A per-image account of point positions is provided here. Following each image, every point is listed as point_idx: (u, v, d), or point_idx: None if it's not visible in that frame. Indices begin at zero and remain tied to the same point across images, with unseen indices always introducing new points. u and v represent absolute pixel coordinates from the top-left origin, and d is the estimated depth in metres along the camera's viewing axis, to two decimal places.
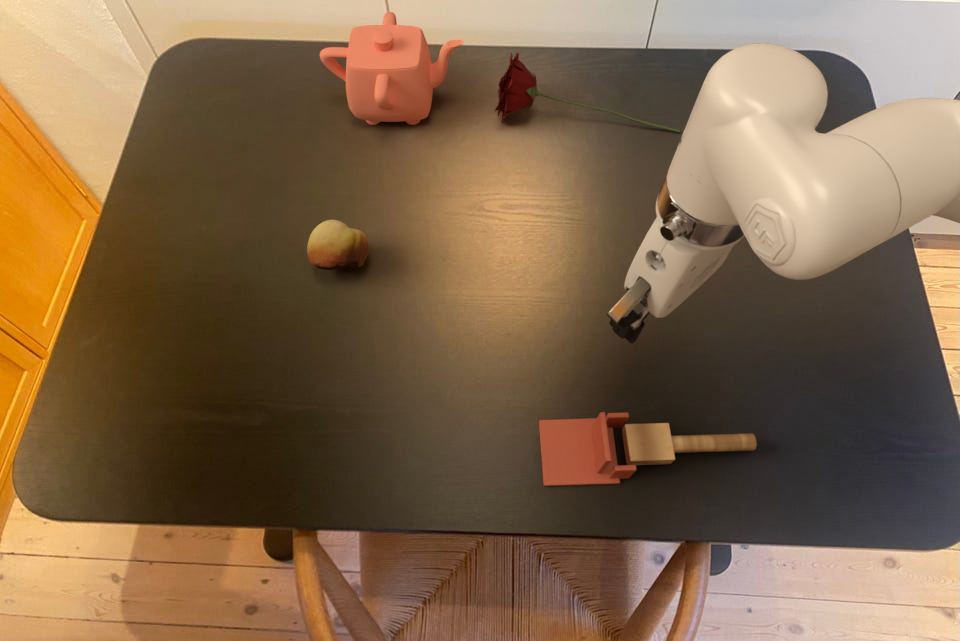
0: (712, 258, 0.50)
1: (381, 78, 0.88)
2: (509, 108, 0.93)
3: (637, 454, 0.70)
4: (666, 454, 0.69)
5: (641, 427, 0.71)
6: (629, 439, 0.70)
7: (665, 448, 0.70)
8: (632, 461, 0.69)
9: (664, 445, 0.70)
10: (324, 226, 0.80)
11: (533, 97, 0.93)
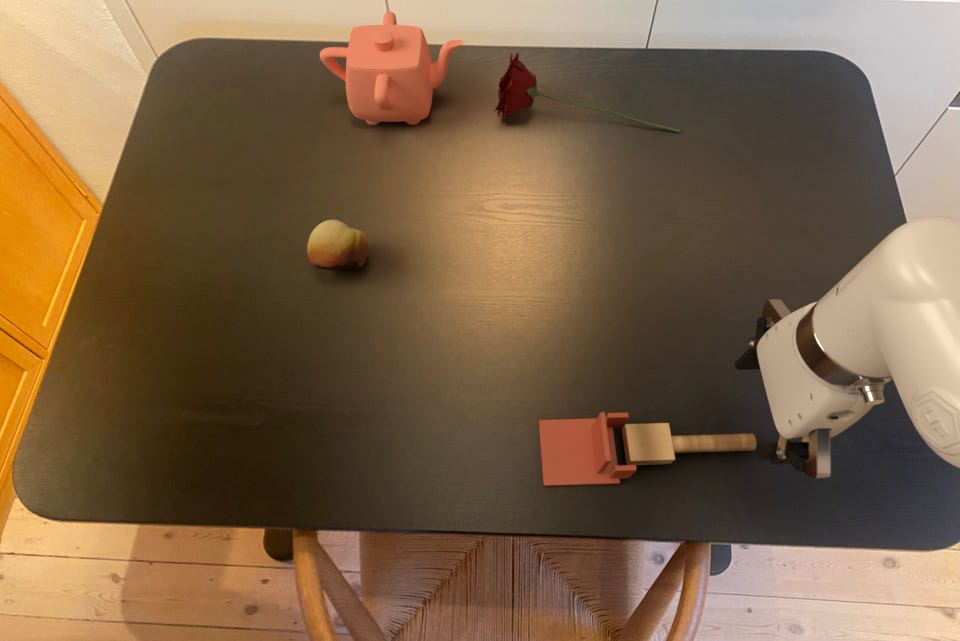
0: None
1: (381, 78, 0.88)
2: (509, 108, 0.93)
3: (637, 454, 0.70)
4: (666, 454, 0.69)
5: (641, 427, 0.71)
6: (629, 439, 0.70)
7: (665, 448, 0.70)
8: (632, 461, 0.69)
9: (664, 445, 0.70)
10: (324, 226, 0.80)
11: (533, 97, 0.93)
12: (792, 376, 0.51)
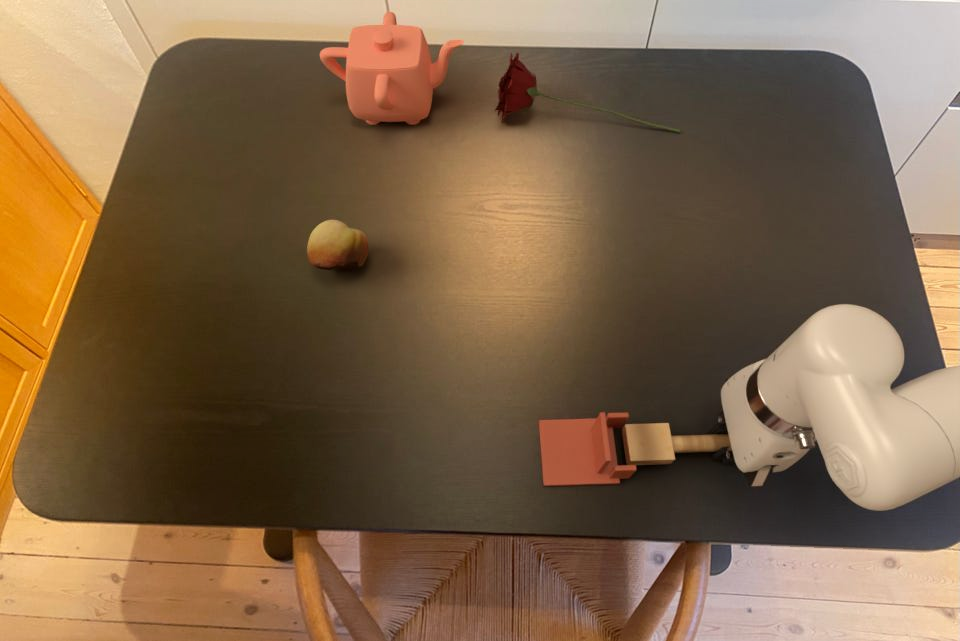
0: None
1: (381, 78, 0.88)
2: (509, 108, 0.93)
3: (637, 454, 0.70)
4: (666, 454, 0.69)
5: (641, 427, 0.71)
6: (629, 439, 0.70)
7: (665, 448, 0.70)
8: (632, 461, 0.69)
9: (664, 445, 0.70)
10: (324, 226, 0.80)
11: (533, 97, 0.93)
12: (746, 421, 0.61)
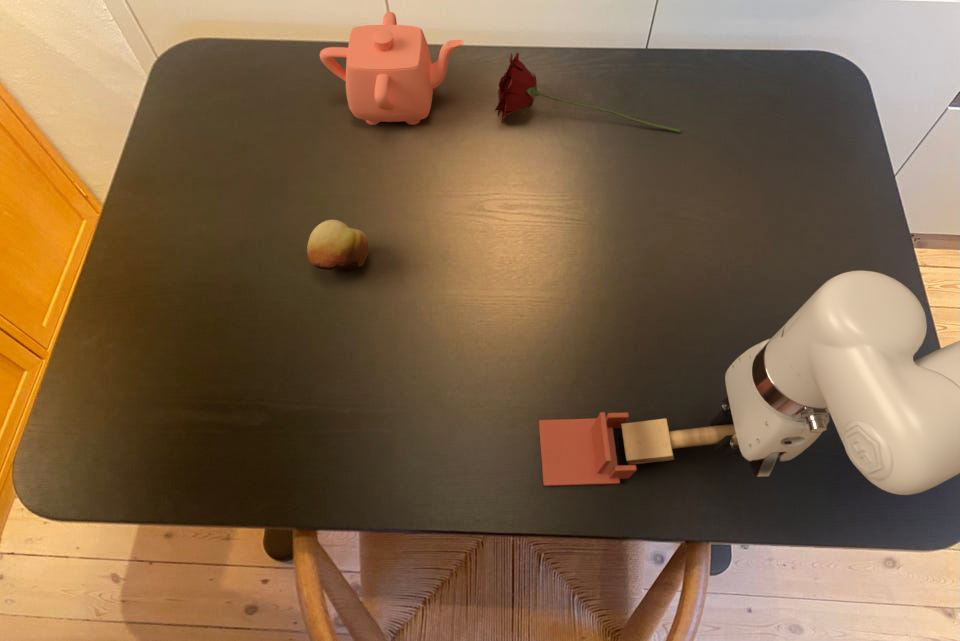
0: None
1: (381, 78, 0.88)
2: (509, 108, 0.93)
3: (633, 453, 0.69)
4: (663, 451, 0.68)
5: (637, 425, 0.70)
6: (624, 439, 0.70)
7: (662, 445, 0.68)
8: (629, 460, 0.69)
9: (661, 441, 0.69)
10: (324, 226, 0.80)
11: (533, 97, 0.93)
12: (751, 404, 0.57)
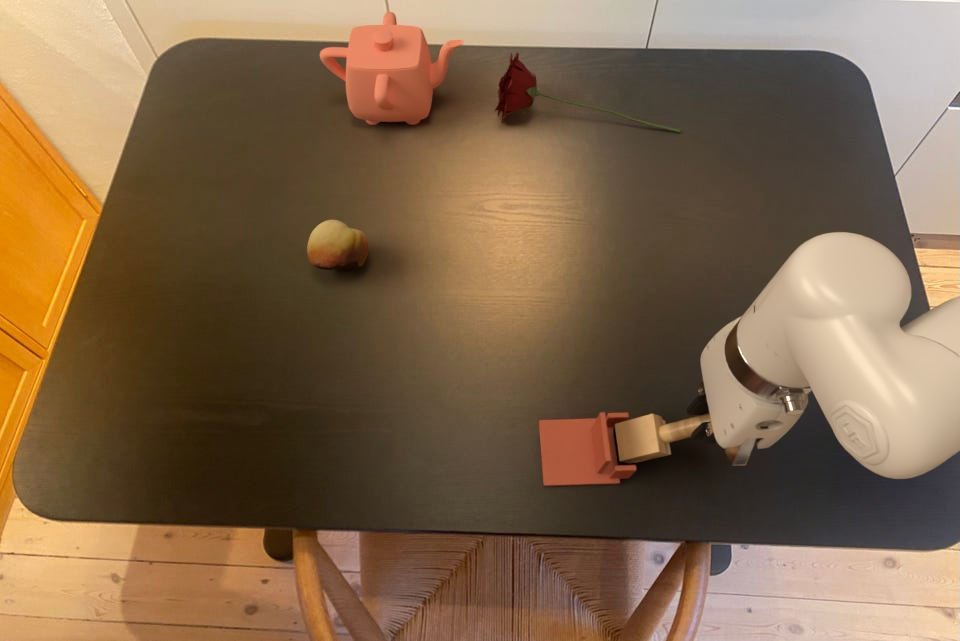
0: None
1: (381, 78, 0.88)
2: (509, 108, 0.93)
3: (625, 453, 0.69)
4: (650, 447, 0.67)
5: (628, 424, 0.70)
6: (617, 439, 0.70)
7: (649, 441, 0.67)
8: (622, 460, 0.69)
9: (648, 438, 0.67)
10: (324, 226, 0.80)
11: (533, 97, 0.93)
12: (725, 386, 0.52)
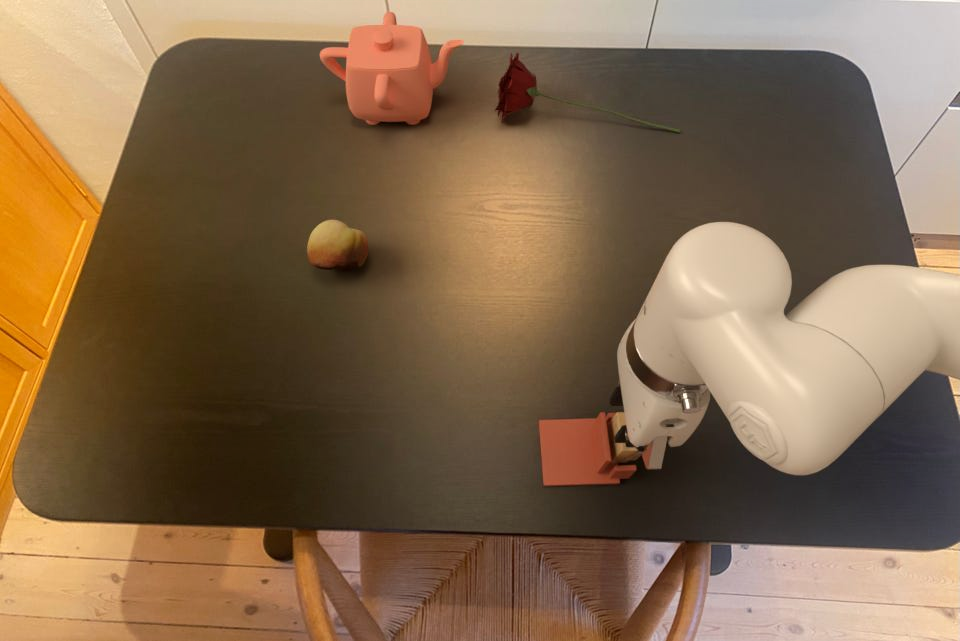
0: None
1: (381, 78, 0.88)
2: (509, 108, 0.93)
3: (611, 454, 0.69)
4: (619, 447, 0.66)
5: (609, 425, 0.70)
6: None
7: None
8: (613, 462, 0.69)
9: None
10: (324, 226, 0.80)
11: (533, 97, 0.93)
12: (632, 383, 0.50)
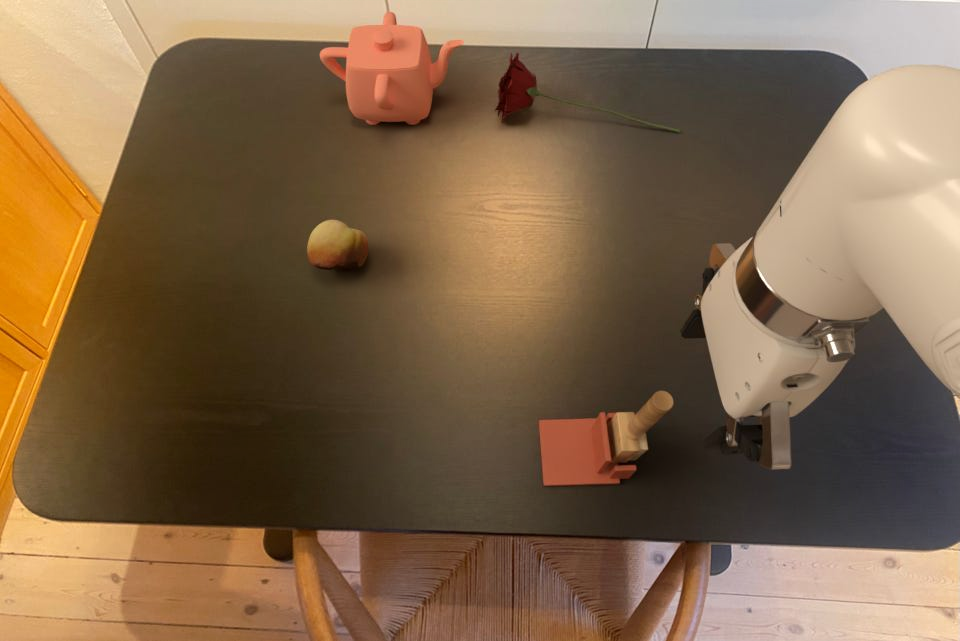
0: None
1: (381, 78, 0.88)
2: (509, 108, 0.93)
3: (611, 454, 0.69)
4: (619, 447, 0.66)
5: (609, 425, 0.70)
6: None
7: (618, 441, 0.67)
8: (613, 462, 0.69)
9: (617, 437, 0.67)
10: (324, 226, 0.80)
11: (533, 97, 0.93)
12: (737, 332, 0.38)
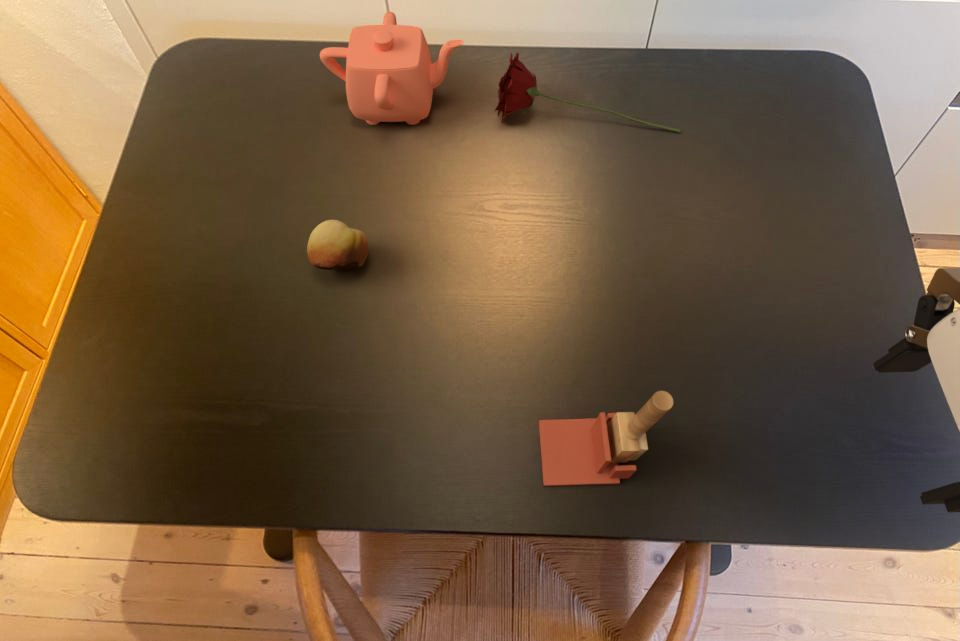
0: None
1: (381, 78, 0.88)
2: (509, 108, 0.93)
3: (611, 454, 0.69)
4: (619, 447, 0.66)
5: (609, 425, 0.70)
6: None
7: (618, 441, 0.67)
8: (613, 462, 0.69)
9: (617, 437, 0.67)
10: (324, 226, 0.80)
11: (533, 97, 0.93)
12: None
